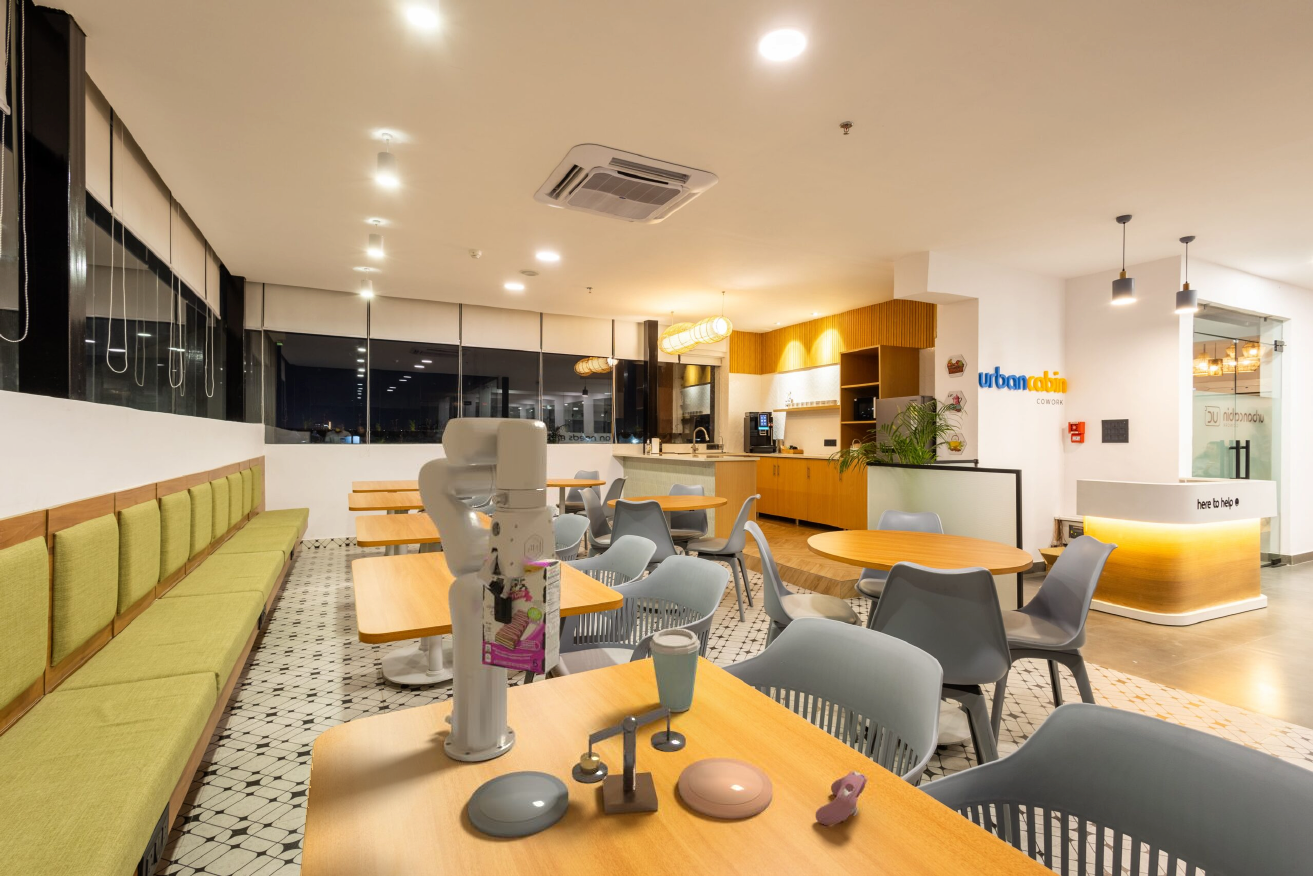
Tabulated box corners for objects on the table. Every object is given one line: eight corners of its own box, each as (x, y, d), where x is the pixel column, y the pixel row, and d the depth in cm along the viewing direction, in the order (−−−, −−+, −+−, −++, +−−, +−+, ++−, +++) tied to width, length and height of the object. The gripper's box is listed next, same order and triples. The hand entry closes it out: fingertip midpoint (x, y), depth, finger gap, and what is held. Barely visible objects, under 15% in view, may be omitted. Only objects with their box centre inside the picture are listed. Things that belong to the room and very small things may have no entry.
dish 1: (447, 811, 94) (447, 802, 94) (523, 768, 106) (523, 760, 106) (513, 852, 85) (513, 842, 85) (588, 800, 97) (588, 792, 97)
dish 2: (660, 794, 98) (660, 786, 98) (709, 755, 110) (710, 748, 110) (743, 832, 89) (743, 823, 89) (788, 785, 101) (788, 777, 101)
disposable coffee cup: (701, 718, 125) (702, 644, 125) (648, 717, 125) (648, 643, 125) (698, 695, 136) (699, 627, 135) (649, 695, 136) (650, 626, 136)
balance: (571, 817, 92) (572, 724, 92) (571, 787, 100) (572, 701, 100) (689, 808, 95) (690, 717, 95) (680, 779, 103) (681, 695, 103)
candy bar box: (480, 666, 94) (481, 559, 94) (498, 655, 99) (499, 553, 99) (545, 676, 91) (546, 565, 91) (561, 664, 96) (562, 558, 95)
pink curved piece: (839, 843, 90) (861, 807, 88) (811, 820, 92) (833, 784, 90) (855, 808, 98) (876, 774, 96) (830, 787, 100) (850, 754, 98)
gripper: (491, 507, 86) (490, 636, 86) (578, 497, 99) (577, 608, 100) (458, 502, 90) (457, 626, 90) (546, 493, 104) (545, 600, 104)
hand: (520, 615), depth 95 cm, fingers closed on candy bar box, 6 cm apart
